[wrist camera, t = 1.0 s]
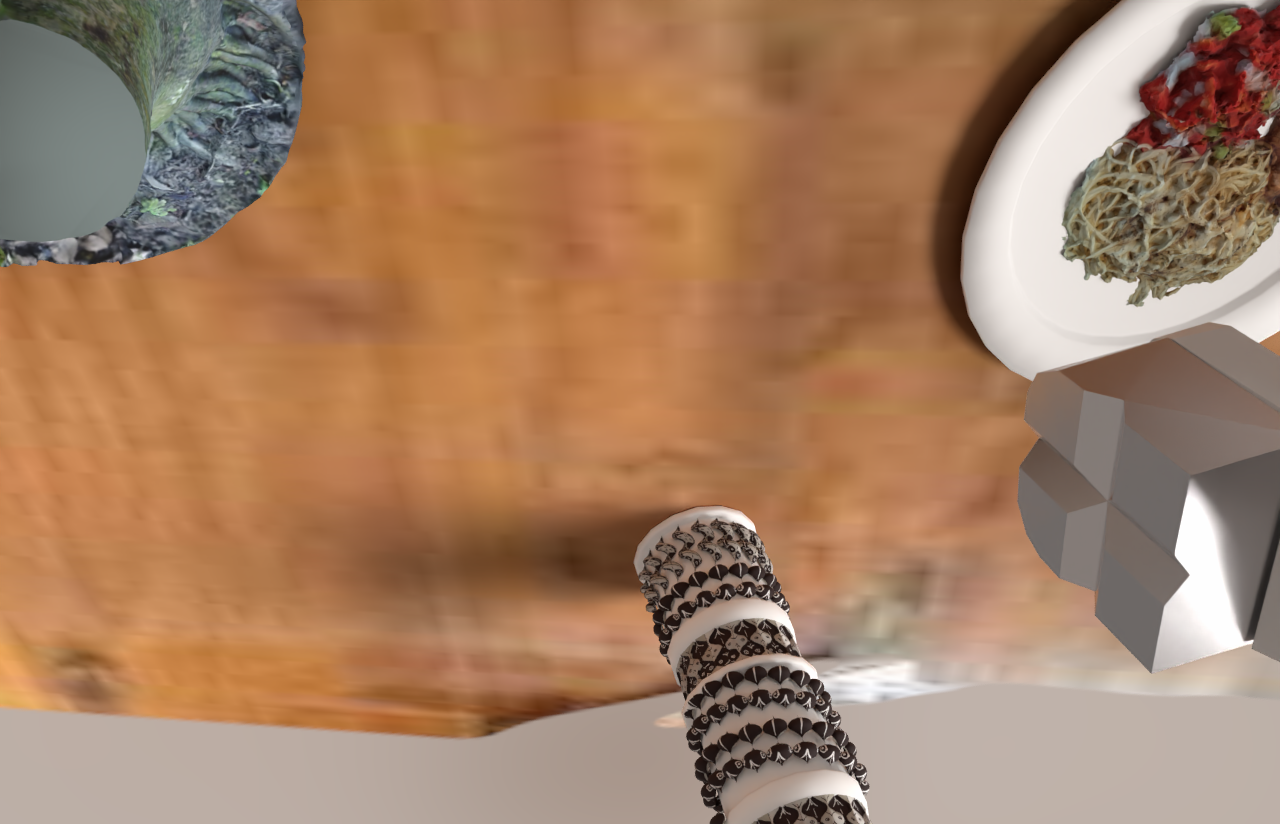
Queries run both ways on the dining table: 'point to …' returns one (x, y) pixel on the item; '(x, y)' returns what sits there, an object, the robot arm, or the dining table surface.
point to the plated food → (1134, 189)
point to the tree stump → (139, 122)
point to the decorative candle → (745, 677)
